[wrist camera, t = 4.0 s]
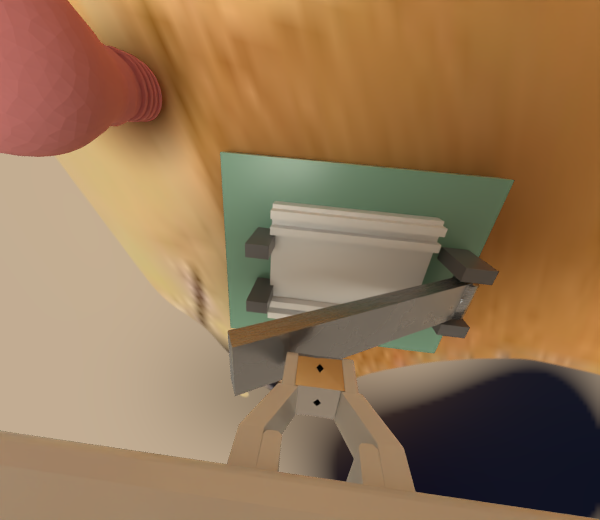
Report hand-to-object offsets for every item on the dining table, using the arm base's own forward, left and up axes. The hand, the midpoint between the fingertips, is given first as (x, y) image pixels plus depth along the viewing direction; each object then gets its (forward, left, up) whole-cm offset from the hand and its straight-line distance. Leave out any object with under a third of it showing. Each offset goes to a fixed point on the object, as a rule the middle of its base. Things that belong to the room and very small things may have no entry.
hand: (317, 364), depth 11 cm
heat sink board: (-2, 0, -11) cm, 12 cm away
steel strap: (-3, 0, -4) cm, 5 cm away
